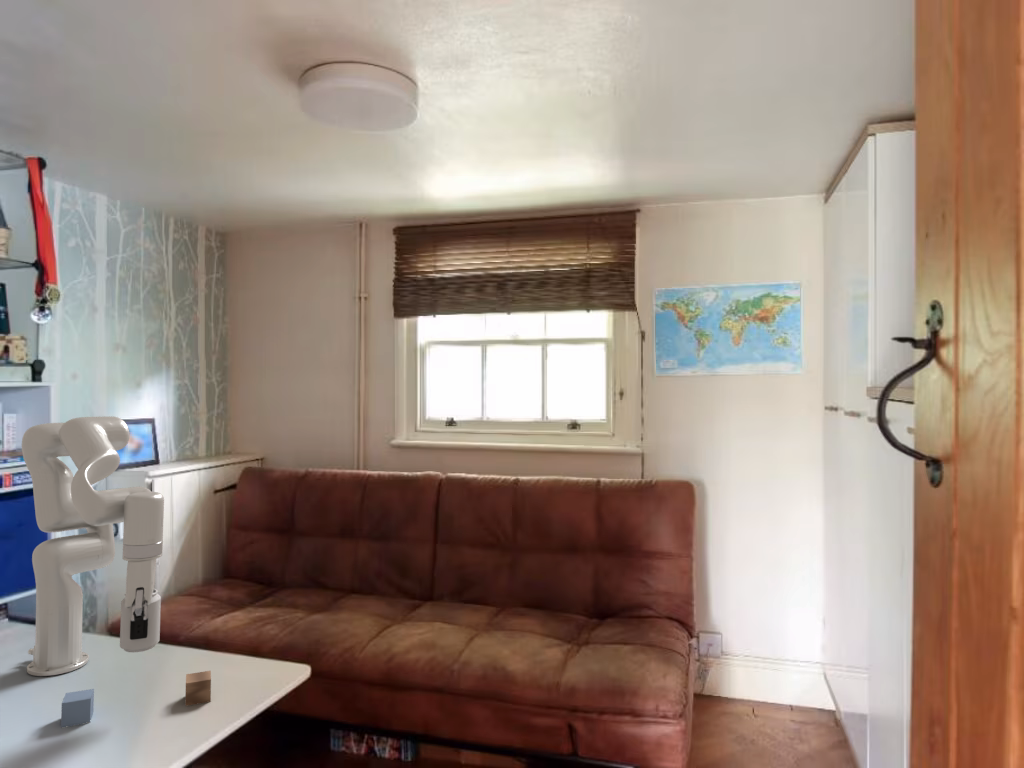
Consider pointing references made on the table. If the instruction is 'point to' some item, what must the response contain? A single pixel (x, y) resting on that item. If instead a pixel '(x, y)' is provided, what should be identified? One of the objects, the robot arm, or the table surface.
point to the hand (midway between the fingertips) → (140, 630)
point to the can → (153, 626)
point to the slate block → (77, 707)
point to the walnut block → (198, 688)
